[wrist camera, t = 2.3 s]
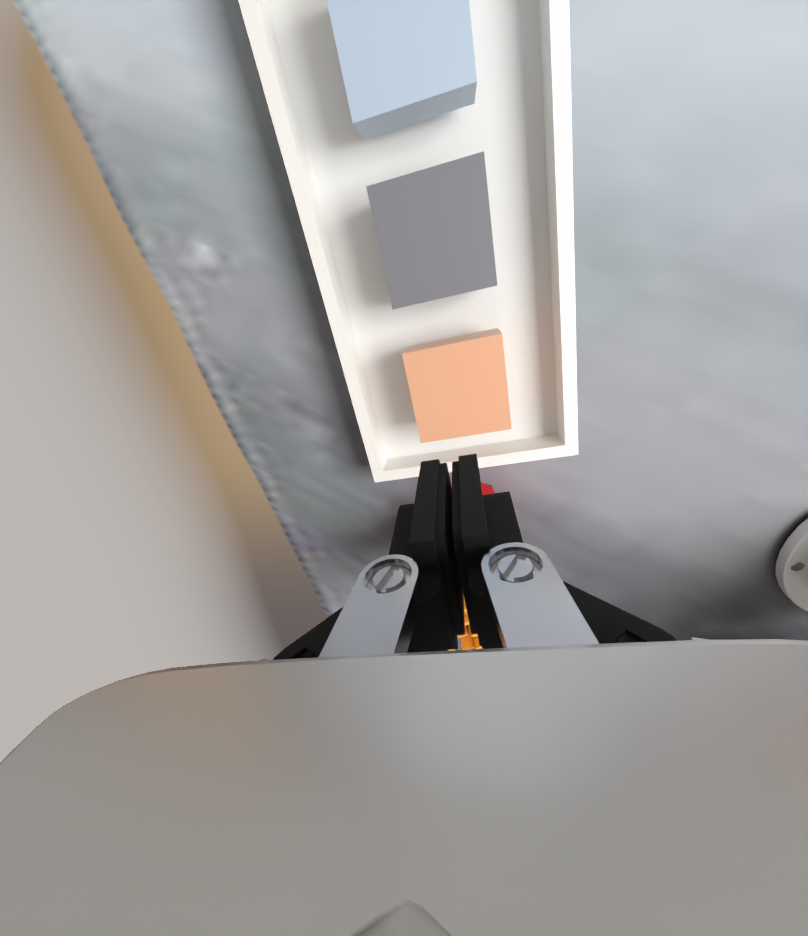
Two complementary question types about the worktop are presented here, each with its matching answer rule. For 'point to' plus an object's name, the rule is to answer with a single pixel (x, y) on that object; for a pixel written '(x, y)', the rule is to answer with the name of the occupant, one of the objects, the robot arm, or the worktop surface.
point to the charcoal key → (435, 231)
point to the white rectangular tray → (511, 209)
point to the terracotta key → (458, 385)
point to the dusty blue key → (403, 60)
